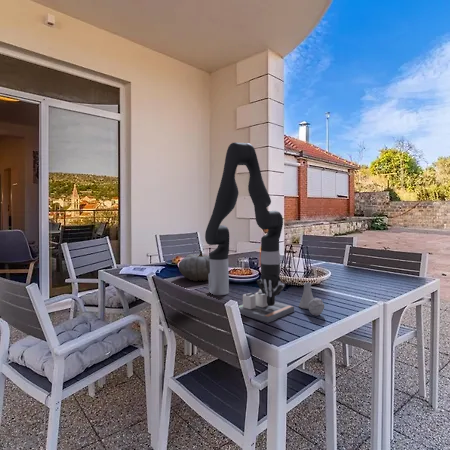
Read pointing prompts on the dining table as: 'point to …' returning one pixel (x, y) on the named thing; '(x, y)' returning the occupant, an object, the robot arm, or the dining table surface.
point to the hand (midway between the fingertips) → (270, 305)
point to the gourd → (195, 267)
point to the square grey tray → (267, 312)
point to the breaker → (249, 301)
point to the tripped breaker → (261, 299)
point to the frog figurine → (316, 306)
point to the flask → (306, 296)
